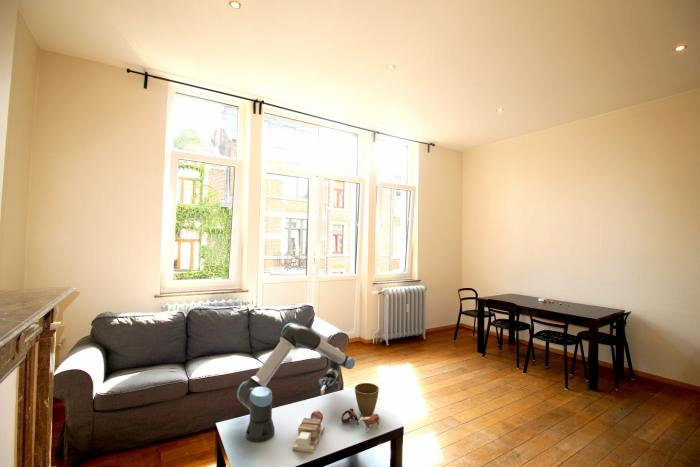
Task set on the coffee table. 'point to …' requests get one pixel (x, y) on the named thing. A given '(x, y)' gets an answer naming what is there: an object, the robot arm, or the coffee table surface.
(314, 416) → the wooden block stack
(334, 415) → the coffee table surface
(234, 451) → the coffee table surface
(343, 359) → the robot arm
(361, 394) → the plant pot
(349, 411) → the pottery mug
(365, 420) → the bull figurine
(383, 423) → the coffee table surface
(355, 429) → the coffee table surface
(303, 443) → the block
